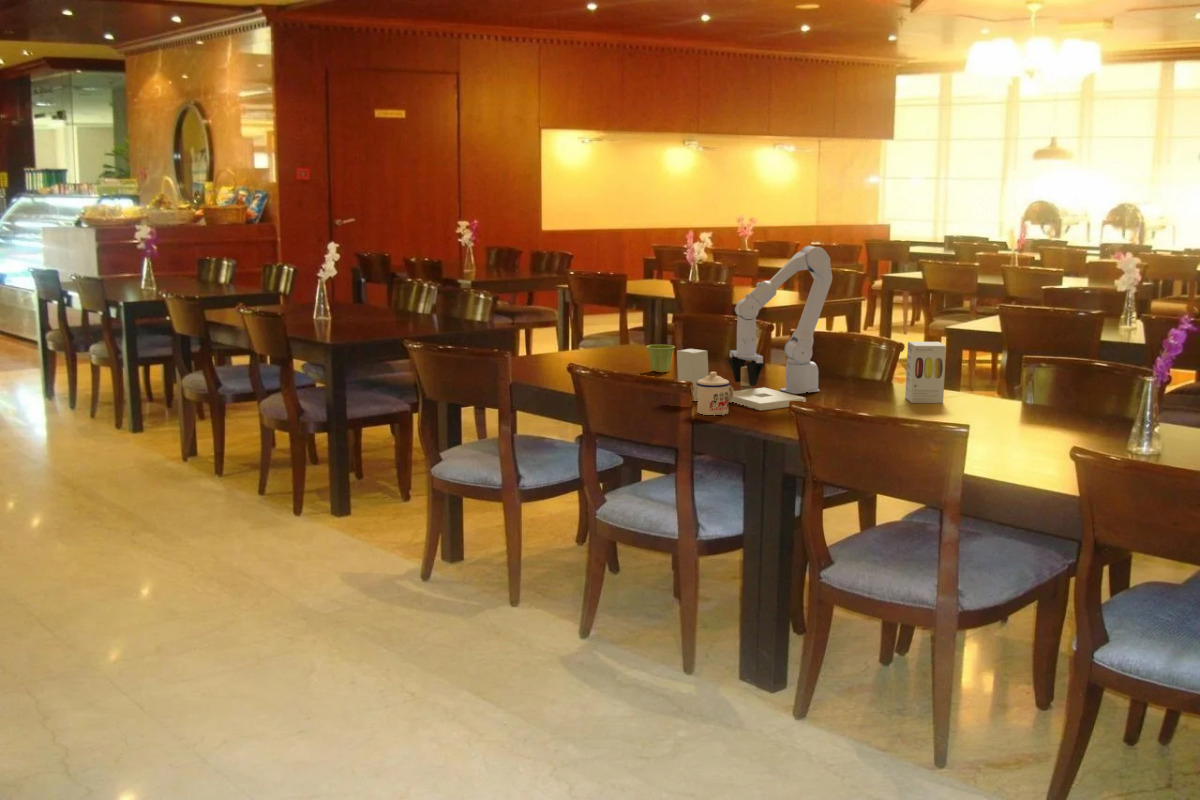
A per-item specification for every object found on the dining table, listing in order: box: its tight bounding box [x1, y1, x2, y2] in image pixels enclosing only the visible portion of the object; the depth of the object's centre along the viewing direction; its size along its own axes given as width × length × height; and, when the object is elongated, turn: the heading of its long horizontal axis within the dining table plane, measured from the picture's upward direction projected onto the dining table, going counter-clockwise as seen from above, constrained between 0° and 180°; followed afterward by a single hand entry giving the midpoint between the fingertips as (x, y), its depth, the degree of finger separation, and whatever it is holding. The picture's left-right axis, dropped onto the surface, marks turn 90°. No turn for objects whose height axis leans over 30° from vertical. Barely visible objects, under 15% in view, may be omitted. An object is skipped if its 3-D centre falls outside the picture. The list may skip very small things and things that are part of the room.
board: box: [729, 386, 807, 411], centre depth 352 cm, size 16×20×2 cm
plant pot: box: [646, 344, 676, 373], centre depth 406 cm, size 9×9×9 cm
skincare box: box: [676, 348, 710, 401], centre depth 356 cm, size 8×6×15 cm
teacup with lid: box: [696, 371, 735, 417], centre depth 337 cm, size 12×9×12 cm
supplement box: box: [904, 341, 947, 404], centre depth 350 cm, size 10×9×17 cm
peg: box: [739, 365, 752, 390], centre depth 365 cm, size 3×3×8 cm
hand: (745, 383), depth 366 cm, fingers open, 7 cm apart
